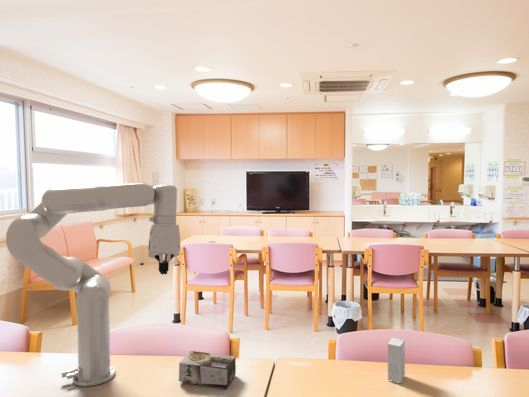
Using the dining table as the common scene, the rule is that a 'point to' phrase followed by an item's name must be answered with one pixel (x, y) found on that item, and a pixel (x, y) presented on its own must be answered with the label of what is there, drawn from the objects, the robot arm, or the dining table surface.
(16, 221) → the robot arm
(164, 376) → the dining table surface
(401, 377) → the skincare box
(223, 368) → the coffee box
